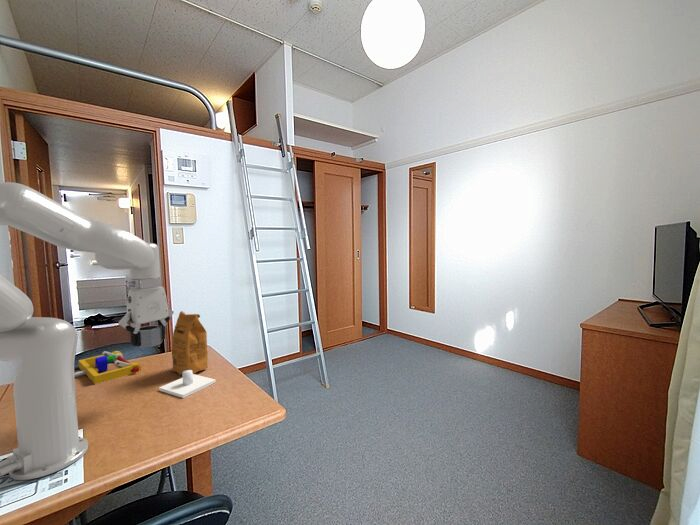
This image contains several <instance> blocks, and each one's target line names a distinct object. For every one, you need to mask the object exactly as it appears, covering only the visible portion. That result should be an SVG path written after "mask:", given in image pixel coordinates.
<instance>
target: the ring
mask: <svg viewBox="0 0 700 525" xmlns="http://www.w3.org/2000/svg"><path fill="white" fill-rule="evenodd" d="M138 333H140V335H141V346H139V347H137V346H134V347H135V348H139V349H144V348H145V349H146V348H153V347H155V346H159V345H161V344H162V343H163V341H164V339H163V338H162V326H160V325H158V324H151V325H143V326H140V328H139V331H138Z"/></svg>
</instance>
